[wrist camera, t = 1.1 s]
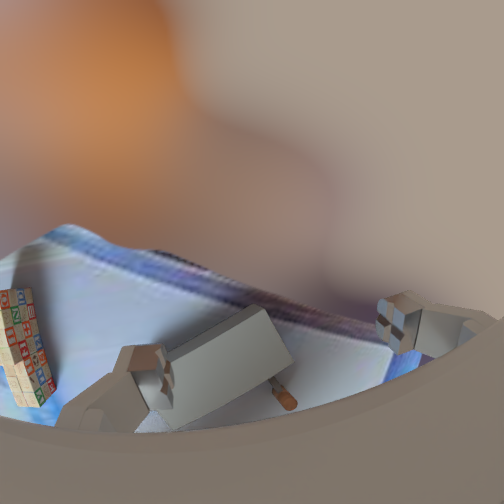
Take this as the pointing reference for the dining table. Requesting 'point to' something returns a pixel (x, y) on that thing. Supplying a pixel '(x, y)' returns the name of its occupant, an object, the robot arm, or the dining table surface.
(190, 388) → the shelf
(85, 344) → the dining table surface
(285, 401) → the toy hammer
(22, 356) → the stack of blocks
